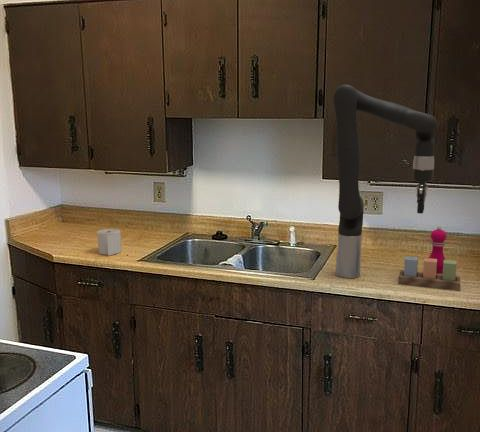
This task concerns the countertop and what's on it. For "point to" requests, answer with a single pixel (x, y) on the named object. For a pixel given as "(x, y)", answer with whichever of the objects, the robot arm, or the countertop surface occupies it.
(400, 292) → the countertop surface
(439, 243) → the pepper mill
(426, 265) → the terracotta block
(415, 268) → the slate block
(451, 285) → the walnut board
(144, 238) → the countertop surface
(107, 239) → the light grey block
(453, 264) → the olive block
